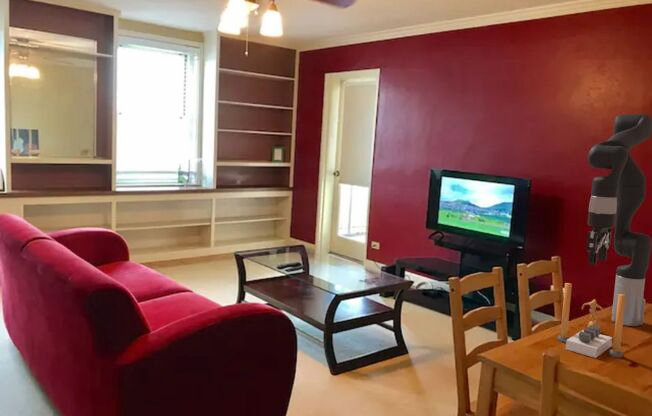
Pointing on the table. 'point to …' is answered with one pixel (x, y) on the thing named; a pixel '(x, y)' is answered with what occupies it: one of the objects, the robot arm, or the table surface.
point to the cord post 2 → (618, 327)
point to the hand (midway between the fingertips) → (597, 262)
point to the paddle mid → (592, 332)
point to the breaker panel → (589, 345)
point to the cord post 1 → (565, 313)
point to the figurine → (593, 310)
